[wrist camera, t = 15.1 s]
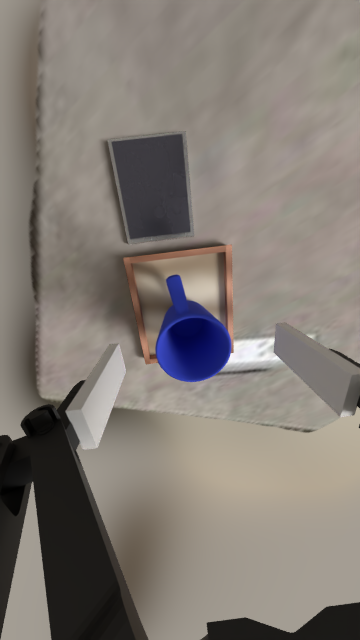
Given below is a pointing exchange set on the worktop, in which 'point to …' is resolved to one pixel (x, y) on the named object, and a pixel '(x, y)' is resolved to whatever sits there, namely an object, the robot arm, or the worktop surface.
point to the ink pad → (153, 186)
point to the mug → (190, 338)
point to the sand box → (198, 282)
